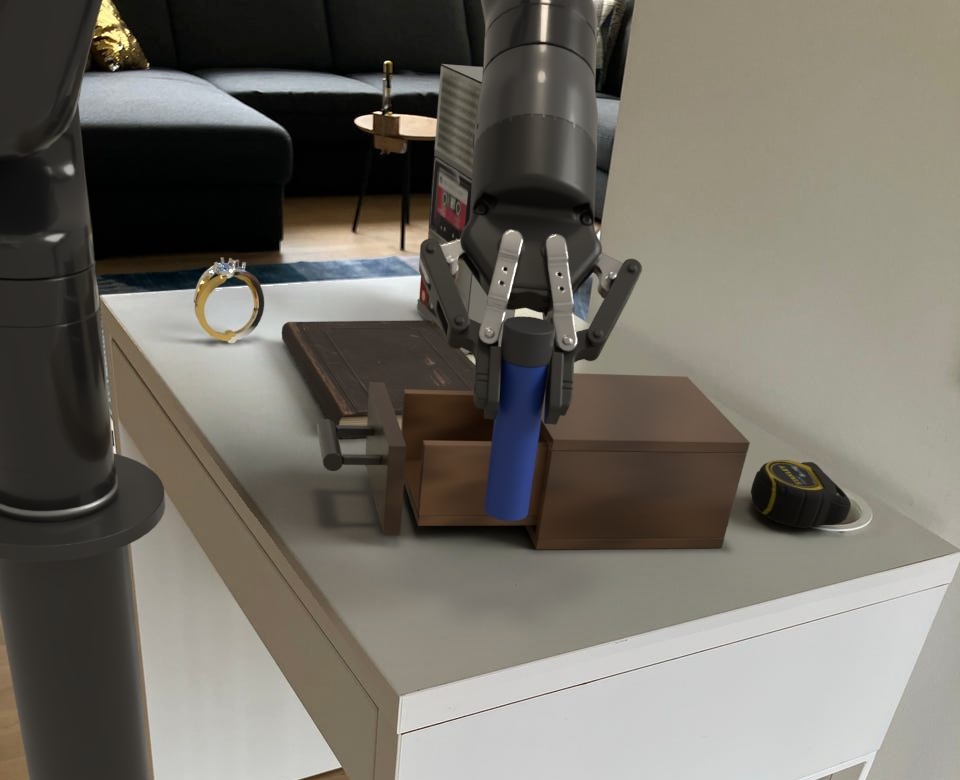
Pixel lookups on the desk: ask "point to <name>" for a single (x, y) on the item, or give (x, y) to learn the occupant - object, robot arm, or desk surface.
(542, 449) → the drawer
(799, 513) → the tape measure
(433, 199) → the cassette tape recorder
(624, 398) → the cabinet
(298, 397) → the desk surface
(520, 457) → the marker
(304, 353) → the hardcover book
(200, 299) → the ring
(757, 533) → the desk surface
